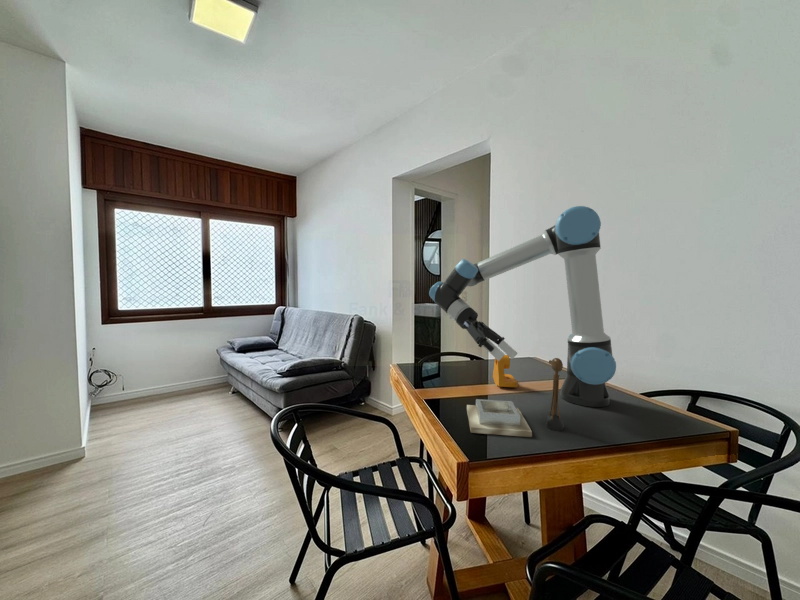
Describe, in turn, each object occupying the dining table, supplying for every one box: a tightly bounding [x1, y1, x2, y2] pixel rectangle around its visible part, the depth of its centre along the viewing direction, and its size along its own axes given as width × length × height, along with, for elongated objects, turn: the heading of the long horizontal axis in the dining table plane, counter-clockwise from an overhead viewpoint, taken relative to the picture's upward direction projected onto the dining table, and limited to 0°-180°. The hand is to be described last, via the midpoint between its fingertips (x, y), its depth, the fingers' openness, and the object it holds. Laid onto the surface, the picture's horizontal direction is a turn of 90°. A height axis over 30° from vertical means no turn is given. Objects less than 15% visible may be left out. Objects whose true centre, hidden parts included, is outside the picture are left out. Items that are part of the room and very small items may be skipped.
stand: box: [466, 404, 533, 438], centre depth 95 cm, size 16×16×2 cm
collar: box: [475, 398, 520, 427], centre depth 95 cm, size 11×11×3 cm
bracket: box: [492, 354, 518, 388], centre depth 129 cm, size 11×7×12 cm
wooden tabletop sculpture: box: [544, 357, 564, 432], centre depth 93 cm, size 6×5×20 cm
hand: (508, 357), depth 104 cm, fingers open, 13 cm apart
